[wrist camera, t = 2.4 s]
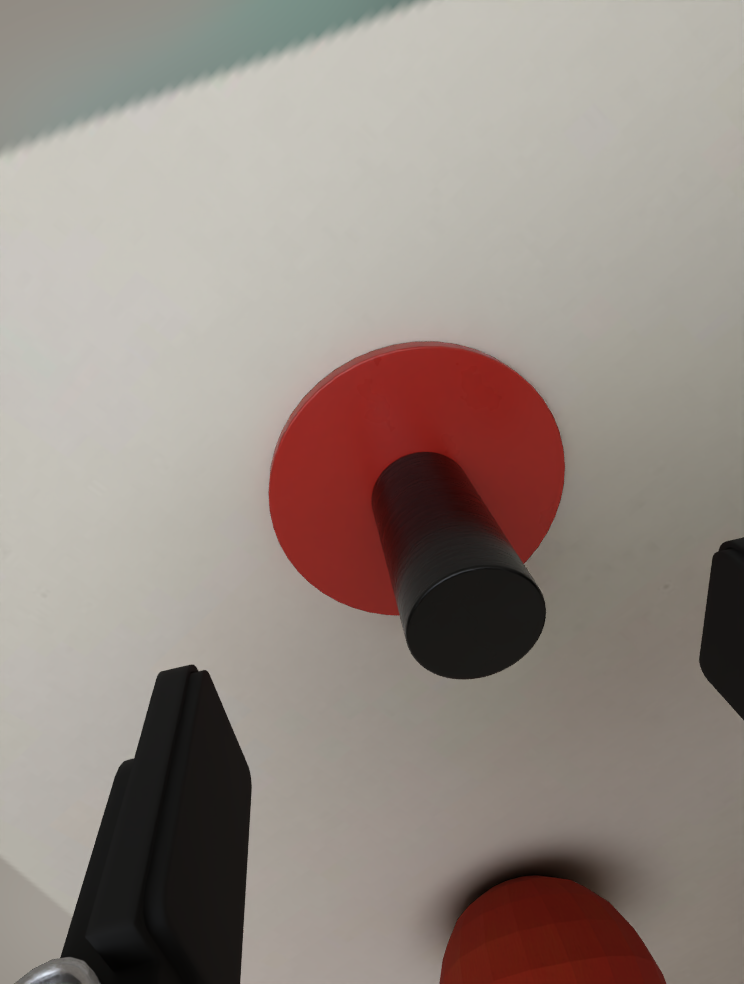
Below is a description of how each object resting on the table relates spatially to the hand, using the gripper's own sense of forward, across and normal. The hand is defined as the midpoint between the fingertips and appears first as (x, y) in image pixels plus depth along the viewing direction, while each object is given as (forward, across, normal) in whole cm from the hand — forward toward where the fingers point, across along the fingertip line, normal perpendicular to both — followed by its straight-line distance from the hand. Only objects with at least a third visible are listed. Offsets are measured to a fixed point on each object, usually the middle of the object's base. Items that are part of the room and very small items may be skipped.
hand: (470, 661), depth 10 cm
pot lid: (+7, 0, 0) cm, 7 cm away
